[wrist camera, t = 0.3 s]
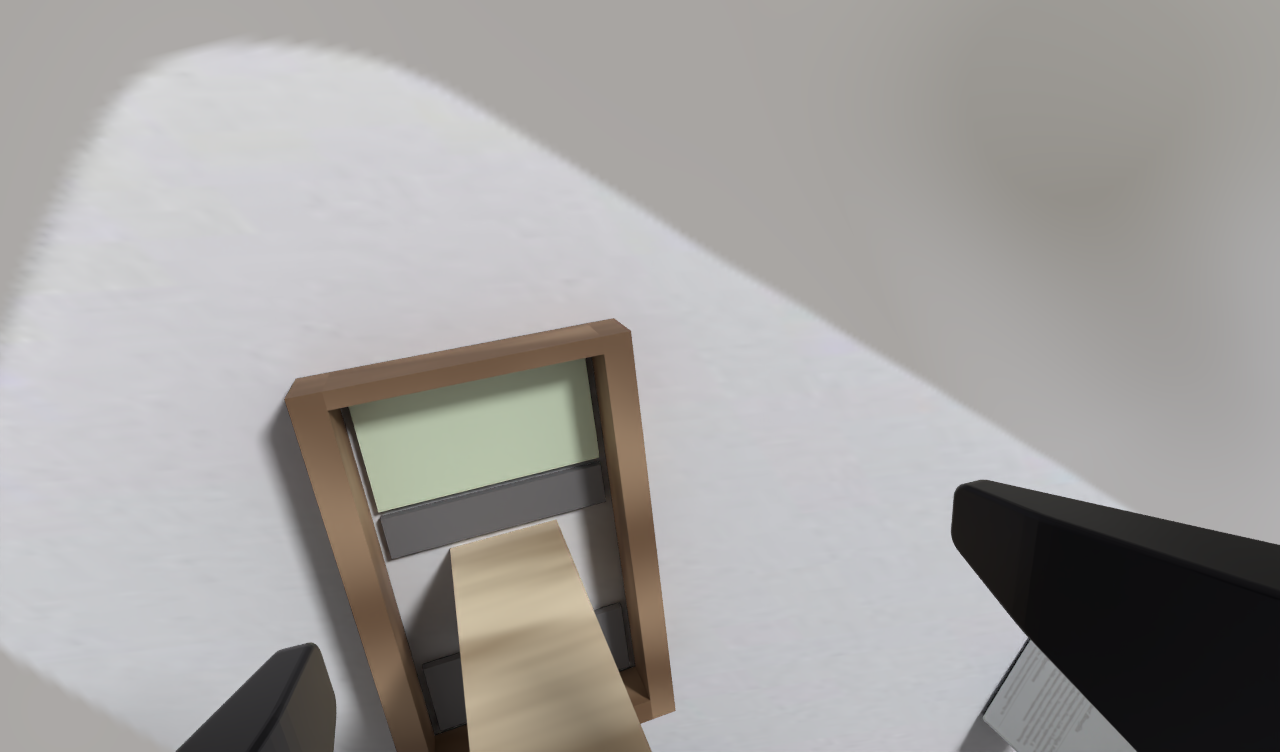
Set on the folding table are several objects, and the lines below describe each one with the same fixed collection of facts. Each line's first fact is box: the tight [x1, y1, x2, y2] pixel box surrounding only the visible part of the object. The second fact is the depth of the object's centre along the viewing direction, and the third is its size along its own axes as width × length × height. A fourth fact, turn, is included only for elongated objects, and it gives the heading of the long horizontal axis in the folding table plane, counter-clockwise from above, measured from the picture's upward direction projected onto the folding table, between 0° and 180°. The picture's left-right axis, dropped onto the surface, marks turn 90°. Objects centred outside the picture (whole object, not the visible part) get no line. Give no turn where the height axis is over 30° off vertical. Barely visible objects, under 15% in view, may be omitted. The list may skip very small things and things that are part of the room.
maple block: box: [450, 520, 652, 752], centre depth 20 cm, size 4×4×11 cm
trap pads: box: [381, 461, 630, 731], centre depth 25 cm, size 10×8×1 cm
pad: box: [348, 358, 599, 513], centre depth 23 cm, size 4×8×1 cm, turn 97°
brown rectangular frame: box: [284, 318, 675, 752], centre depth 24 cm, size 16×10×2 cm, turn 7°
